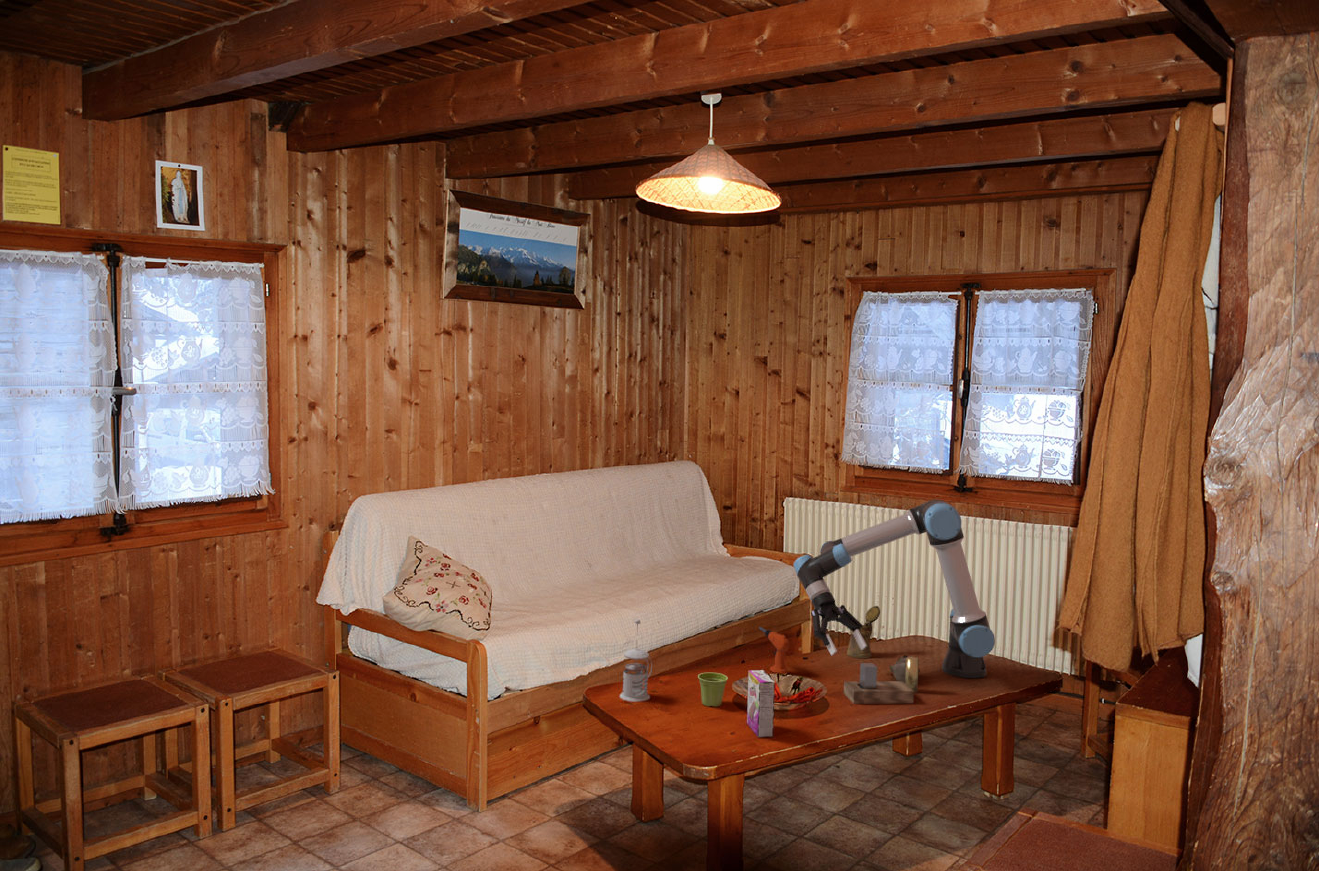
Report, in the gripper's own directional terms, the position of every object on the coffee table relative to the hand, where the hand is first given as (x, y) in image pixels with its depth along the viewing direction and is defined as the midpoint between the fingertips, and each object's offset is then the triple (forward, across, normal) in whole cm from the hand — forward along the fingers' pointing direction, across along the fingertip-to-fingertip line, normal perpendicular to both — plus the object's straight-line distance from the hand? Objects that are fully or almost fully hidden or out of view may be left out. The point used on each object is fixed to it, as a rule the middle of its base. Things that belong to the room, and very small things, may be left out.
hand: (849, 650), depth 321 cm
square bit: (+16, 0, -3) cm, 16 cm away
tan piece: (-10, -35, -30) cm, 47 cm away
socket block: (+17, -3, -2) cm, 17 cm away
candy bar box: (+20, +50, +1) cm, 54 cm away
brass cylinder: (+17, -19, -2) cm, 25 cm away
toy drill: (-11, +9, -30) cm, 34 cm away
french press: (-10, +66, -29) cm, 73 cm away
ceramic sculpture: (+10, -27, -10) cm, 31 cm away
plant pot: (+3, +49, -16) cm, 52 cm away
